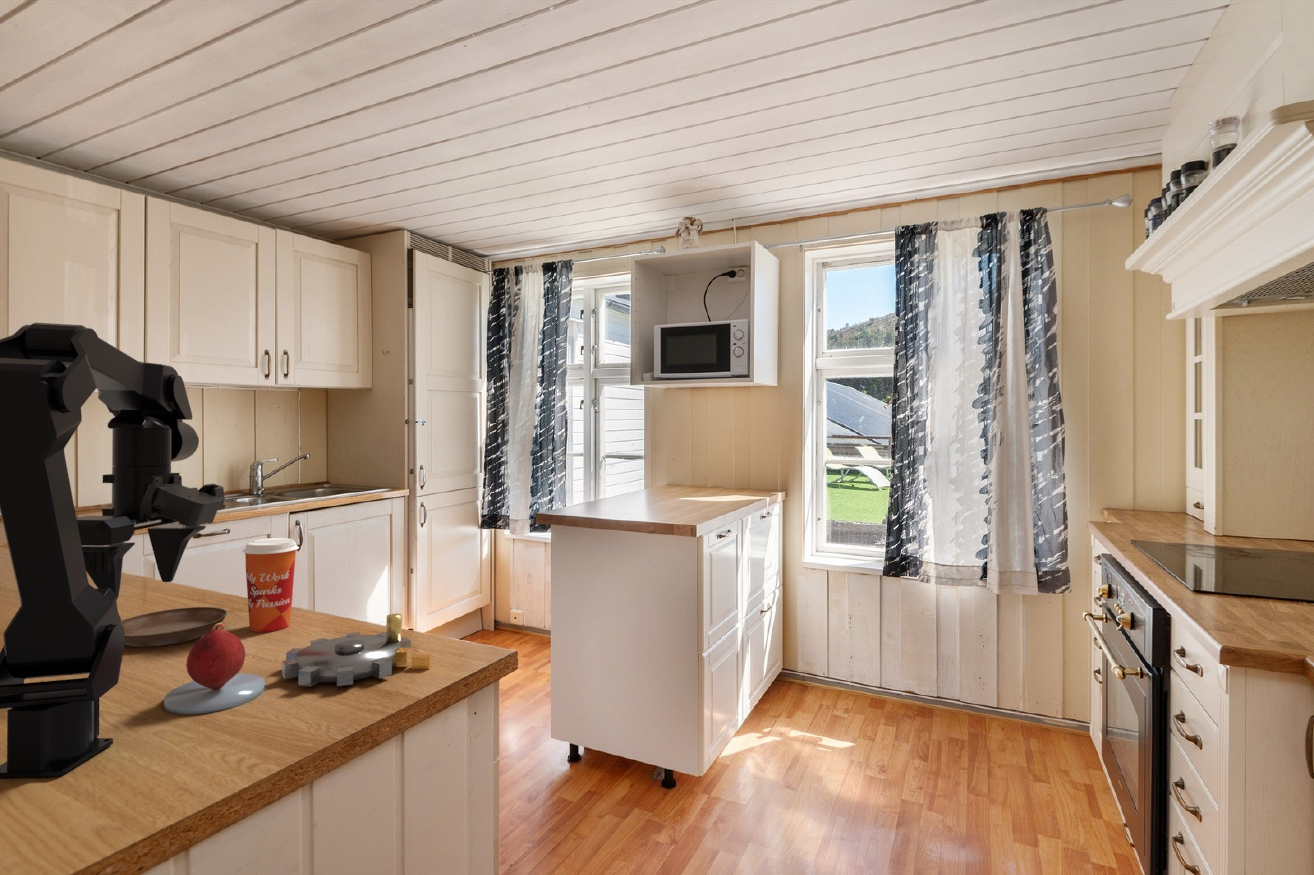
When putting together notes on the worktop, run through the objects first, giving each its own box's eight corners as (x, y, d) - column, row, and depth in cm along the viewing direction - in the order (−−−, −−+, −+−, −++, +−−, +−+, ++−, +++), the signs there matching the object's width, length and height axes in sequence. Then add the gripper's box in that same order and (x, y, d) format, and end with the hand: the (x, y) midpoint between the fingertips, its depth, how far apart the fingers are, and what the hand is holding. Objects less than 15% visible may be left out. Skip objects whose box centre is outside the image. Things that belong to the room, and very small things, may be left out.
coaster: (234, 713, 72) (234, 706, 72) (142, 714, 72) (142, 707, 72) (280, 679, 82) (280, 673, 82) (200, 679, 82) (200, 673, 82)
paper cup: (234, 636, 99) (235, 546, 99) (251, 621, 106) (252, 538, 106) (290, 632, 101) (291, 544, 101) (303, 618, 108) (304, 536, 108)
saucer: (81, 647, 93) (81, 629, 93) (178, 619, 108) (178, 603, 108) (160, 657, 90) (160, 638, 90) (249, 626, 104) (250, 610, 104)
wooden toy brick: (421, 679, 83) (421, 666, 83) (304, 679, 83) (304, 667, 83) (439, 657, 91) (439, 646, 91) (332, 657, 91) (332, 646, 91)
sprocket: (436, 655, 90) (437, 617, 90) (337, 696, 76) (338, 651, 76) (358, 637, 97) (359, 602, 97) (254, 672, 83) (255, 631, 83)
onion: (213, 702, 73) (214, 632, 73) (173, 696, 75) (174, 628, 75) (256, 683, 79) (256, 619, 79) (218, 678, 80) (219, 615, 80)
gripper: (155, 471, 70) (153, 612, 70) (252, 462, 89) (251, 574, 89) (49, 470, 70) (47, 612, 70) (169, 461, 88) (168, 573, 88)
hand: (141, 590), depth 79 cm, fingers open, 9 cm apart
